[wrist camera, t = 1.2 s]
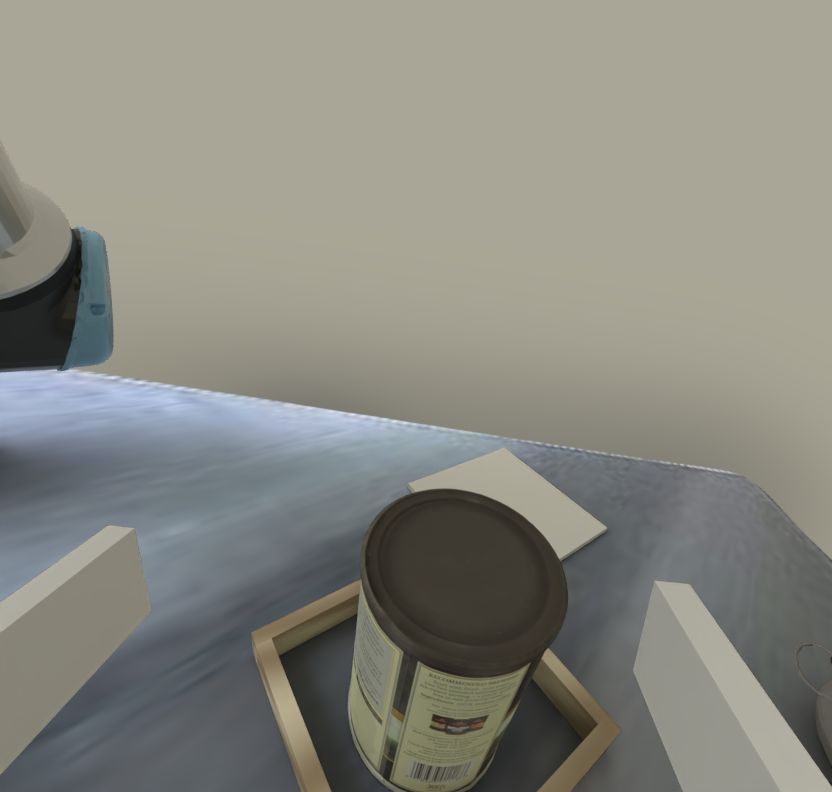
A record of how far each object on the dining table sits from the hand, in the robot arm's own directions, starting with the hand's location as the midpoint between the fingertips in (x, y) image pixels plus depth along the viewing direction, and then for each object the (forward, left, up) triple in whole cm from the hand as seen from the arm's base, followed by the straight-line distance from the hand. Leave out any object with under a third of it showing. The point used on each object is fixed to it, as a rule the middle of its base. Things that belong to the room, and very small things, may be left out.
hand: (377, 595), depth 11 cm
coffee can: (-4, +8, -21) cm, 23 cm away
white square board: (-14, +26, -21) cm, 36 cm away
